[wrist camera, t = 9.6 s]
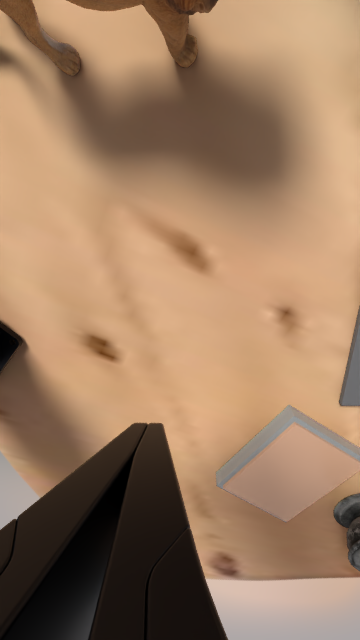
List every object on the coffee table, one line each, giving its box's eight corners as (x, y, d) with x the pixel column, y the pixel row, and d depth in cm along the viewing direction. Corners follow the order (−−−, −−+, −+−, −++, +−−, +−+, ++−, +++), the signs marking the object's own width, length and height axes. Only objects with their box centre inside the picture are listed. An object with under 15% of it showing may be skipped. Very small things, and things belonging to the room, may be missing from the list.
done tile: (280, 502, 27) (287, 525, 25) (215, 467, 26) (216, 489, 24) (359, 444, 23) (373, 466, 21) (287, 400, 22) (295, 418, 20)
